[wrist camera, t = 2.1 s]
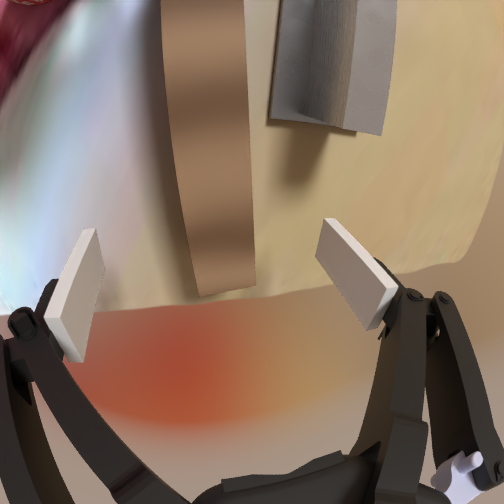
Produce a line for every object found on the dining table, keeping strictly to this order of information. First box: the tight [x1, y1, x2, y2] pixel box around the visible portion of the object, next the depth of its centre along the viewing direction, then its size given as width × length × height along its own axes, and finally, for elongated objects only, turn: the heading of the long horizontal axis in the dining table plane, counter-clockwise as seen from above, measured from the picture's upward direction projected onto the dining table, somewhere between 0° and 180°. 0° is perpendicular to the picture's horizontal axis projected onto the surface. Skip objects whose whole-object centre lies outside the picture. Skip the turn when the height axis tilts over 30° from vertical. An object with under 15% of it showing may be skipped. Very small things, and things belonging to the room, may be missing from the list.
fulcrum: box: [269, 0, 397, 136], centre depth 14 cm, size 8×12×6 cm, turn 175°
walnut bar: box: [161, 0, 256, 297], centre depth 15 cm, size 24×4×6 cm, turn 3°
